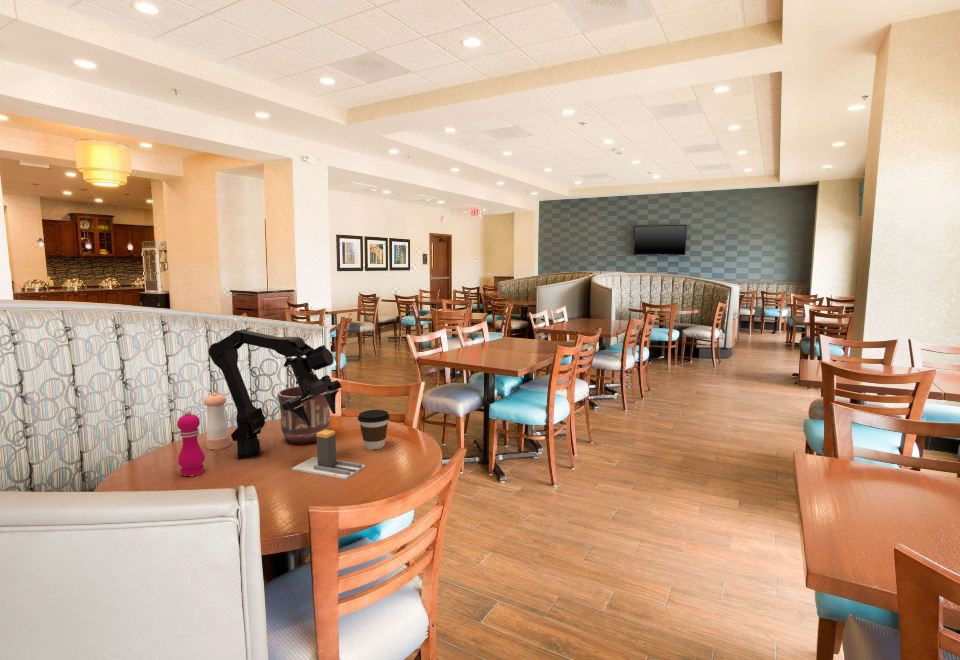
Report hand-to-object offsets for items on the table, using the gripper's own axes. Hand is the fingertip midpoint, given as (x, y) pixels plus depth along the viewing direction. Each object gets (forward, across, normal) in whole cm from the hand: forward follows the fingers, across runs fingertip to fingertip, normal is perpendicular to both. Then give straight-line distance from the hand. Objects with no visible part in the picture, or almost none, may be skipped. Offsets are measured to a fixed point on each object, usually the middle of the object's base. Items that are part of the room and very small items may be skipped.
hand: (322, 419), depth 170 cm
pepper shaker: (-2, -21, +40) cm, 45 cm away
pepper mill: (+1, -35, +21) cm, 41 cm away
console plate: (+14, -6, -4) cm, 16 cm away
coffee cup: (+17, +15, +2) cm, 23 cm away
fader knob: (+13, -6, -4) cm, 15 cm away
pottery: (+7, +3, +26) cm, 28 cm away
